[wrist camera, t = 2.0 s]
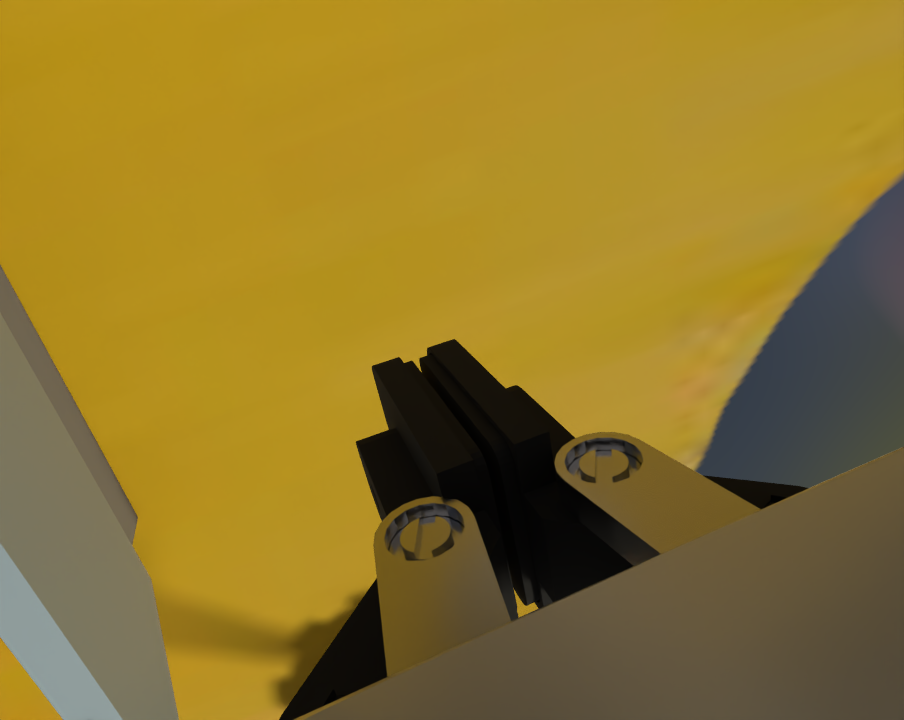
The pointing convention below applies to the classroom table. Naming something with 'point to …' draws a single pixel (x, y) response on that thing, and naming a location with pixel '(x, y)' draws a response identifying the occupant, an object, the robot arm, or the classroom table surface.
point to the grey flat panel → (70, 569)
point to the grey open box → (65, 405)
